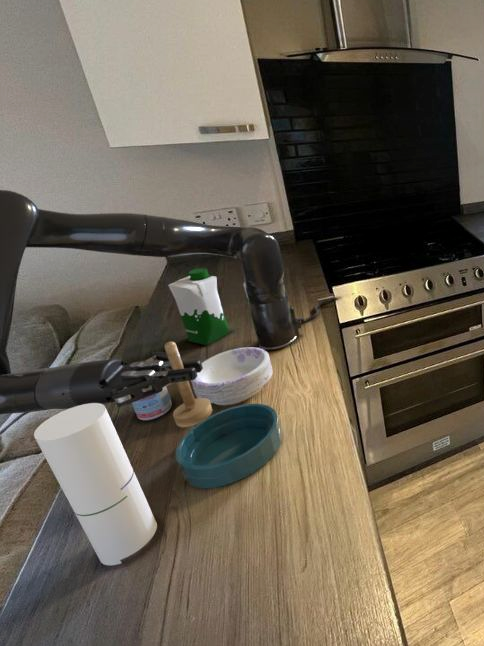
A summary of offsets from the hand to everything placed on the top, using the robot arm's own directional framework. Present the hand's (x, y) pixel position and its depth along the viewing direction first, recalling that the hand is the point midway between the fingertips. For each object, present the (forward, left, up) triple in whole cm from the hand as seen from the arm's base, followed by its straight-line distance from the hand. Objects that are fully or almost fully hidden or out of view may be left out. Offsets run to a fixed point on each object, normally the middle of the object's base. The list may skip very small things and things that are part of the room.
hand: (197, 369), depth 80 cm
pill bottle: (+2, -25, -20) cm, 32 cm away
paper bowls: (-11, -16, -20) cm, 28 cm away
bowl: (-1, +3, -20) cm, 20 cm away
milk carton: (-19, -48, -20) cm, 56 cm away
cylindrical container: (+17, +7, -20) cm, 27 cm away
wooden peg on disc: (+2, -2, -10) cm, 11 cm away
